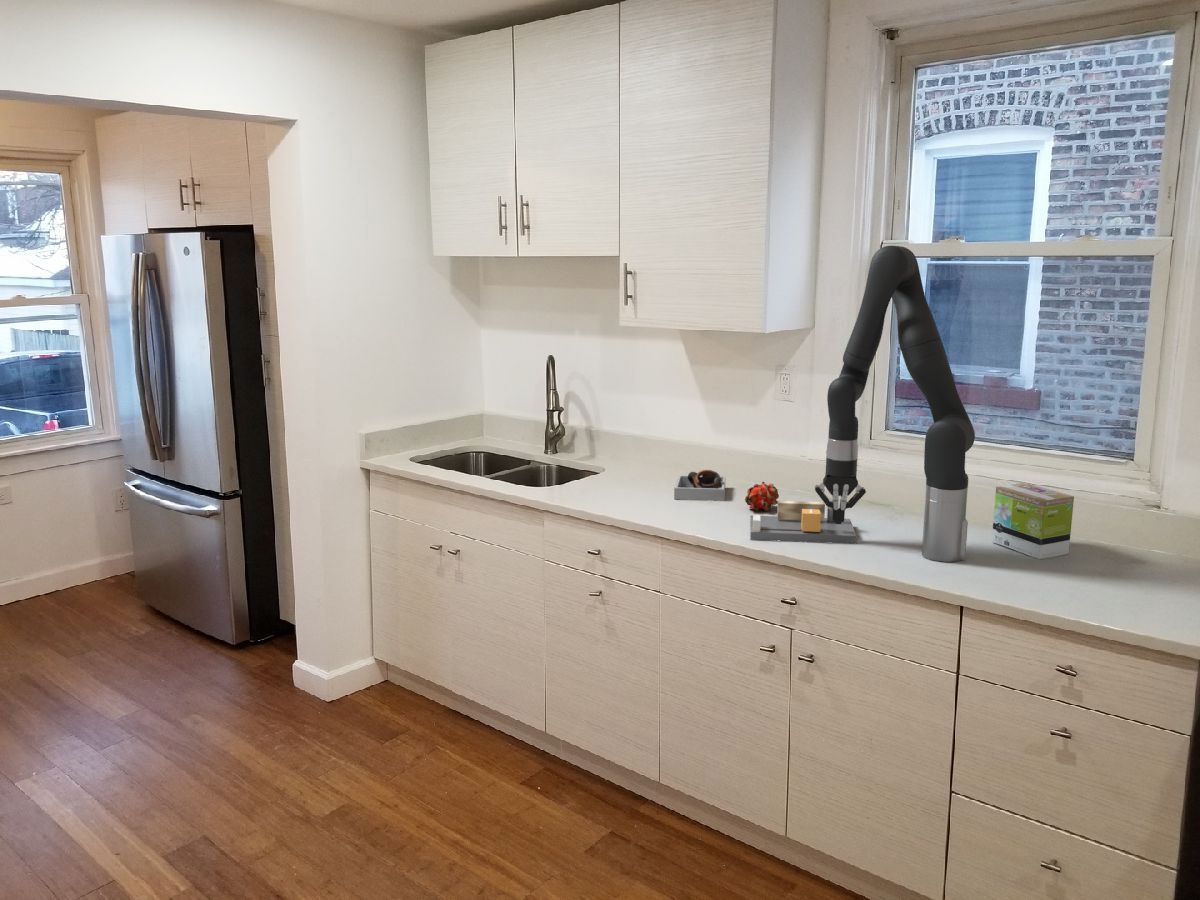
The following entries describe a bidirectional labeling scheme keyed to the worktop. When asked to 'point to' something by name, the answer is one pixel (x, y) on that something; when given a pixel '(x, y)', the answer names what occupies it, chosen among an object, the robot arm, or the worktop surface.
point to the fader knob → (811, 520)
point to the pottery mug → (705, 479)
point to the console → (793, 532)
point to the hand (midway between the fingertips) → (838, 523)
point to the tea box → (1032, 520)
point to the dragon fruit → (762, 496)
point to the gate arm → (797, 509)
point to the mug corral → (697, 490)
